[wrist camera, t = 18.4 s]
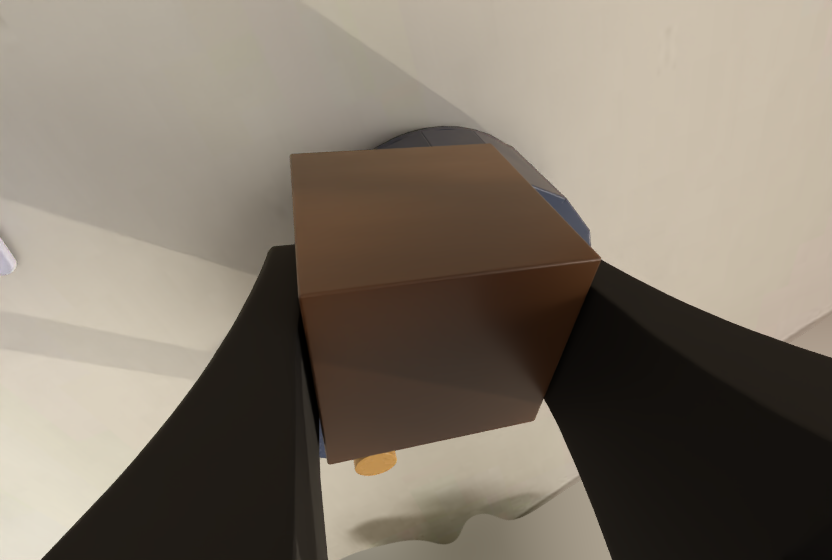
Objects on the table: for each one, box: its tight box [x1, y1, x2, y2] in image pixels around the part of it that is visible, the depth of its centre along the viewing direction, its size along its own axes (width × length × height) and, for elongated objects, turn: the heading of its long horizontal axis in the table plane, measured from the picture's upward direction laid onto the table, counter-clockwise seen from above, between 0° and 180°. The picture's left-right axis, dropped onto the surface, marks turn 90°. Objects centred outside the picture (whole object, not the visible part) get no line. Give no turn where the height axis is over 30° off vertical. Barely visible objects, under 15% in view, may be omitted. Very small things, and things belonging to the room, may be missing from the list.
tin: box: [374, 126, 591, 247], centre depth 20 cm, size 12×12×5 cm
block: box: [290, 143, 601, 464], centre depth 9 cm, size 4×4×4 cm
